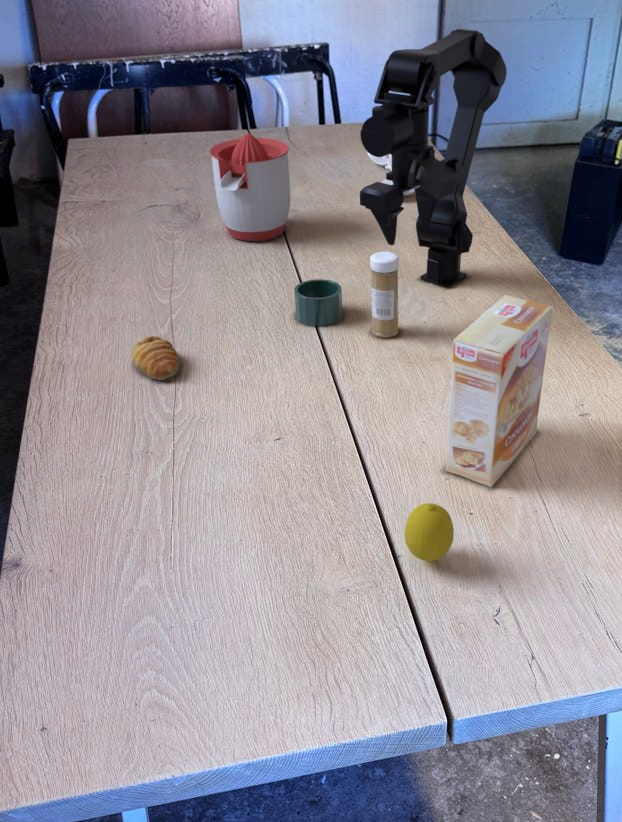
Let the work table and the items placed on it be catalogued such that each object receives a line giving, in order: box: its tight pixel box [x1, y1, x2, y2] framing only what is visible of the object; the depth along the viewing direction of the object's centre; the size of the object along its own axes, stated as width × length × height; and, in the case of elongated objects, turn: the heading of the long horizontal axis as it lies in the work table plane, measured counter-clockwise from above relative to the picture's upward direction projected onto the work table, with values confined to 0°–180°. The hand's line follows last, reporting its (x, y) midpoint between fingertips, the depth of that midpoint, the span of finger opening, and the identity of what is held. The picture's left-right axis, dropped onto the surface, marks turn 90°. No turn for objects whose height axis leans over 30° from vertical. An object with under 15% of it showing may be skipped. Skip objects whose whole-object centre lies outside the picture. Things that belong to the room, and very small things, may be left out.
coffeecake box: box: [445, 294, 554, 488], centre depth 113 cm, size 15×7×20 cm, turn 148°
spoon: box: [366, 151, 415, 197], centre depth 208 cm, size 9×32×4 cm, turn 7°
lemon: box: [404, 502, 455, 562], centre depth 99 cm, size 6×6×8 cm
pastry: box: [131, 335, 180, 381], centre depth 137 cm, size 9×7×4 cm
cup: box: [293, 278, 343, 327], centre depth 151 cm, size 8×8×5 cm
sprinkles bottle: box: [369, 251, 400, 339], centre depth 143 cm, size 5×5×14 cm
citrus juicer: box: [209, 132, 291, 242], centre depth 177 cm, size 16×17×20 cm
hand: (408, 236), depth 146 cm, fingers open, 9 cm apart
